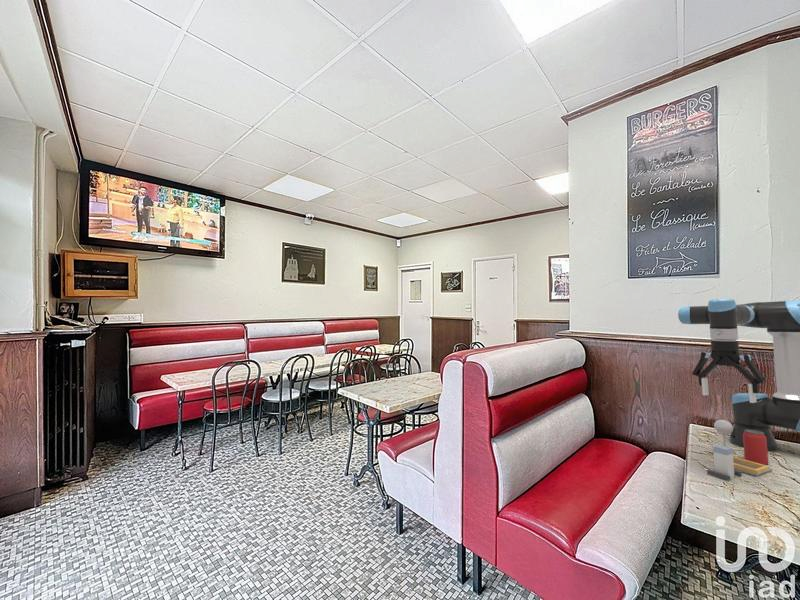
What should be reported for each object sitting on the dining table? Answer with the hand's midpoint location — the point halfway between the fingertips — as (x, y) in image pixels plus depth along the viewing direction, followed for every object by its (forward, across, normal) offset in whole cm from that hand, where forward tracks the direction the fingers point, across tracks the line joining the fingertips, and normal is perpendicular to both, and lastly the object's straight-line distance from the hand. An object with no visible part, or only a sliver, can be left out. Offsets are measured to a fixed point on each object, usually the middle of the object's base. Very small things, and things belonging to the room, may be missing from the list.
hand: (728, 398), depth 125 cm
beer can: (+28, -3, +25) cm, 38 cm away
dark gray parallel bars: (+28, -2, -1) cm, 28 cm away
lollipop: (+28, -11, +21) cm, 37 cm away
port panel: (+28, -2, +13) cm, 31 cm away
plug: (+28, -2, -1) cm, 28 cm away
